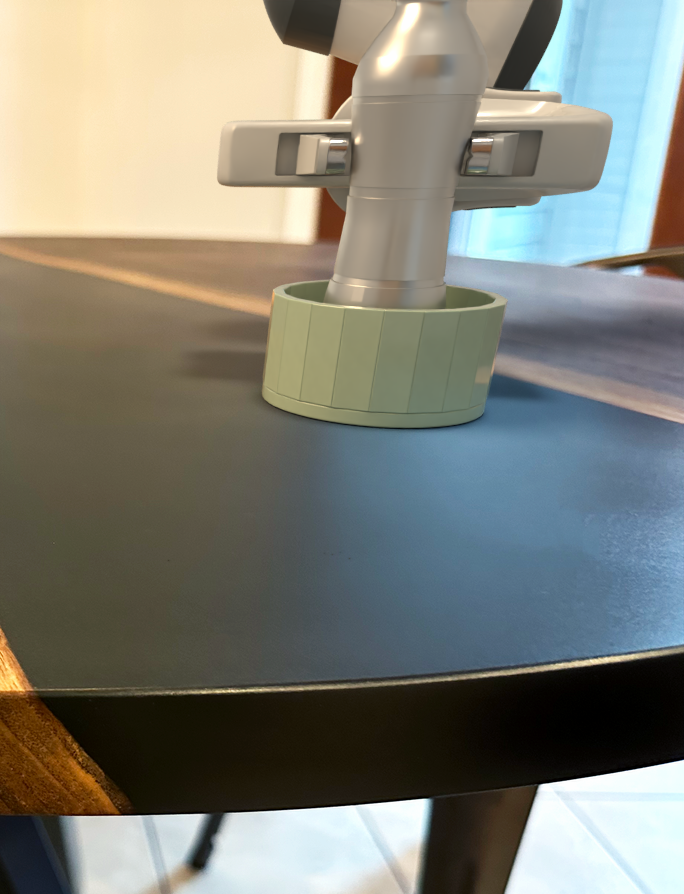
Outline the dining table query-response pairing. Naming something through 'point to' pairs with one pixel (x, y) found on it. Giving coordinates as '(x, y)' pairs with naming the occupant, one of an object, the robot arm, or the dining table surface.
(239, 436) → the dining table surface
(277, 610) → the dining table surface
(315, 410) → the round open container
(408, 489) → the dining table surface
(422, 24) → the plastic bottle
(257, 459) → the dining table surface
